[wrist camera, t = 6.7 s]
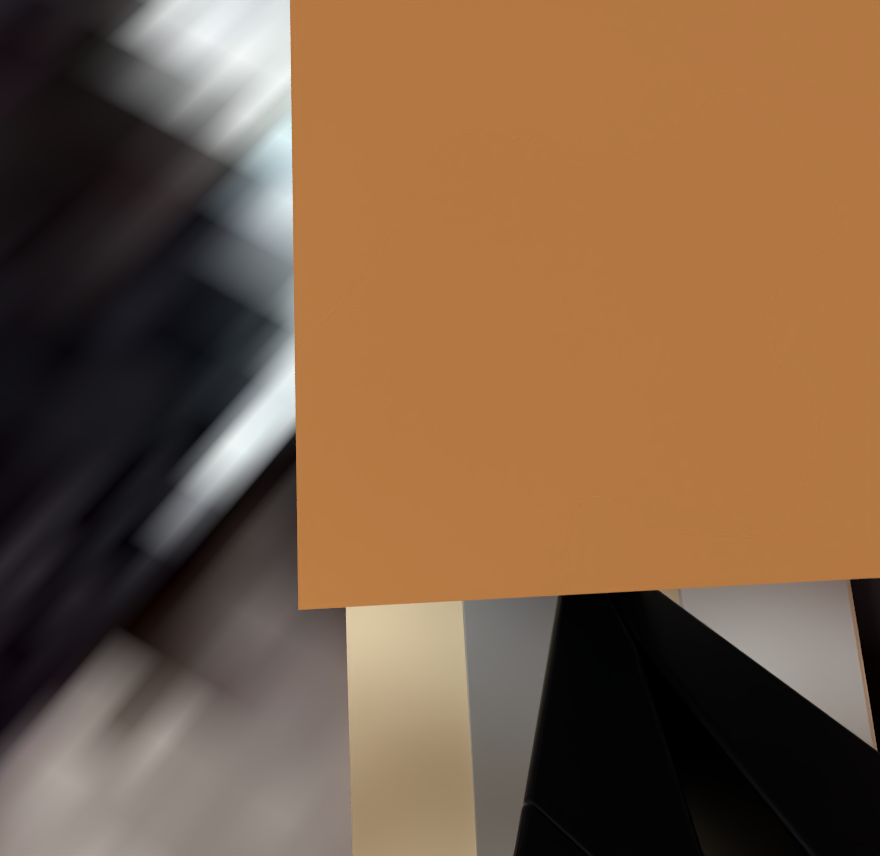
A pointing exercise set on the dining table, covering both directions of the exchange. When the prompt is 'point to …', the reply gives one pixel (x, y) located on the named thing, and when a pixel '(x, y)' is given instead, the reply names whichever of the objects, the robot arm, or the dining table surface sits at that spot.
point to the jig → (534, 701)
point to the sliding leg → (584, 296)
